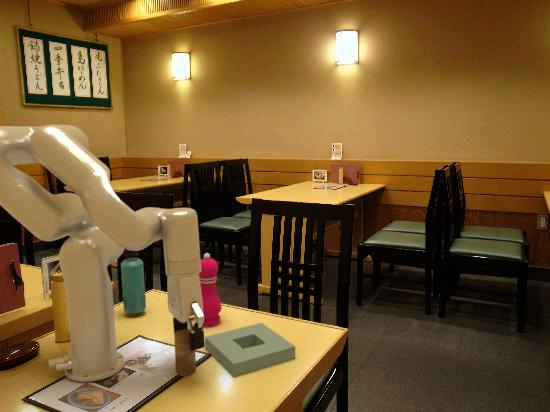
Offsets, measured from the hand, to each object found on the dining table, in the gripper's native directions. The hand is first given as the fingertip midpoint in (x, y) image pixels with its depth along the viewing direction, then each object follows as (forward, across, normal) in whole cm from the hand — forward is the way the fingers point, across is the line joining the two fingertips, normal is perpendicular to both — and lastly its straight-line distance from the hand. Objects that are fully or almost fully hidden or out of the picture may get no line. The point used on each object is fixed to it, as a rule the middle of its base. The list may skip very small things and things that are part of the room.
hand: (189, 340), depth 103 cm
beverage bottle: (+6, -40, -2) cm, 40 cm away
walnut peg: (+7, -1, -1) cm, 7 cm away
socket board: (+8, -1, +15) cm, 17 cm away
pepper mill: (+7, -23, +14) cm, 28 cm away
